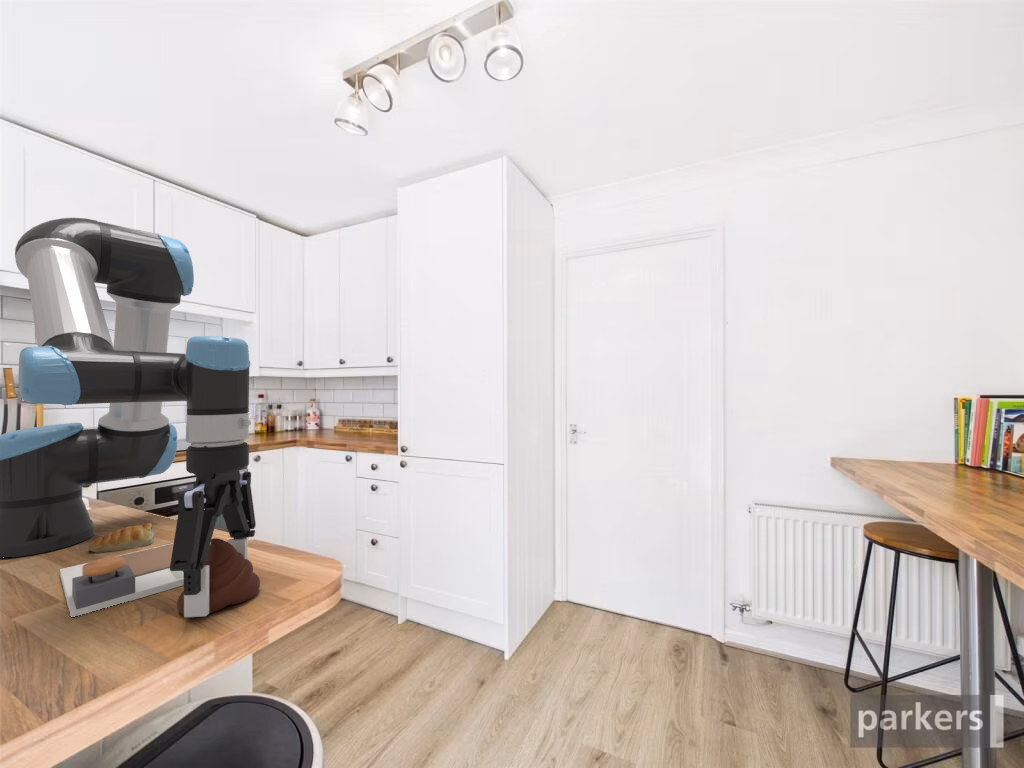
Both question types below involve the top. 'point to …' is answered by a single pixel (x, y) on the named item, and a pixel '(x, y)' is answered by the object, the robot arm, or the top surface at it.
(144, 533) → the pastry
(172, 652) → the top surface
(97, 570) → the button
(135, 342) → the robot arm
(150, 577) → the picture board
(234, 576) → the poop emoji
